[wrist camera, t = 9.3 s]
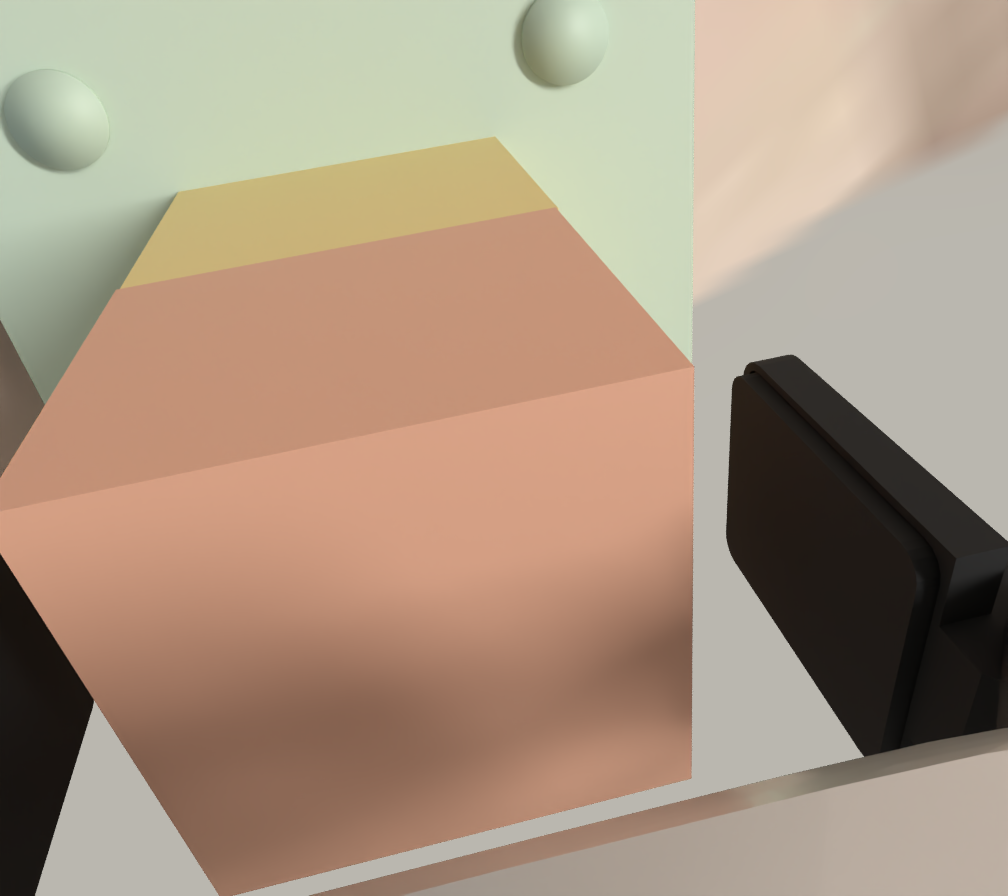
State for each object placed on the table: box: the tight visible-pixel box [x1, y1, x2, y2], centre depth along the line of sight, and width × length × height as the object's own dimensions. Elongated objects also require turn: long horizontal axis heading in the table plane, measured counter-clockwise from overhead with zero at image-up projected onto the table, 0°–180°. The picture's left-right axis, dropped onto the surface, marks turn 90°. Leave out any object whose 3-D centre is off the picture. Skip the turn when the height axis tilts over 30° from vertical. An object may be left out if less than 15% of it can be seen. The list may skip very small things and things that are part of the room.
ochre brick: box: [120, 136, 559, 289], centre depth 14 cm, size 6×6×5 cm
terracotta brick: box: [0, 207, 694, 896], centre depth 10 cm, size 6×6×5 cm
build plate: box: [0, 0, 695, 405], centre depth 17 cm, size 14×14×1 cm
